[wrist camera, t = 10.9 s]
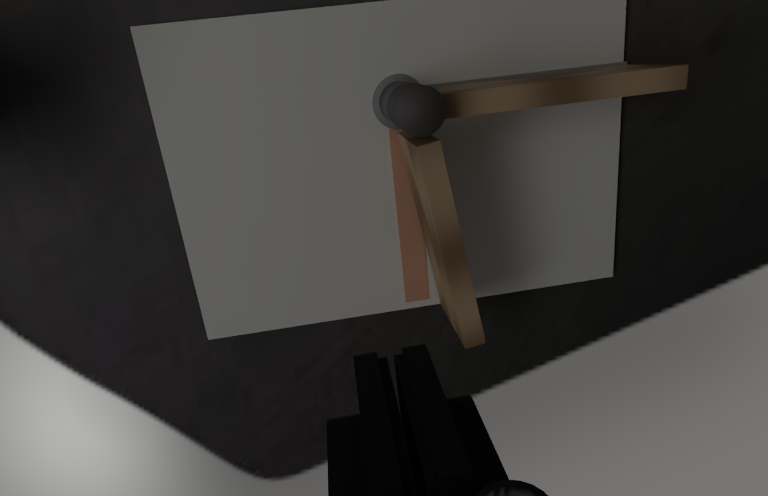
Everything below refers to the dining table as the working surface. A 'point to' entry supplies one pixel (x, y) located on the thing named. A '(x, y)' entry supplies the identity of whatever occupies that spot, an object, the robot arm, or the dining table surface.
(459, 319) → the gate panel
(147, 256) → the dining table surface
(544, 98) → the fence
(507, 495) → the robot arm
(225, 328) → the card
